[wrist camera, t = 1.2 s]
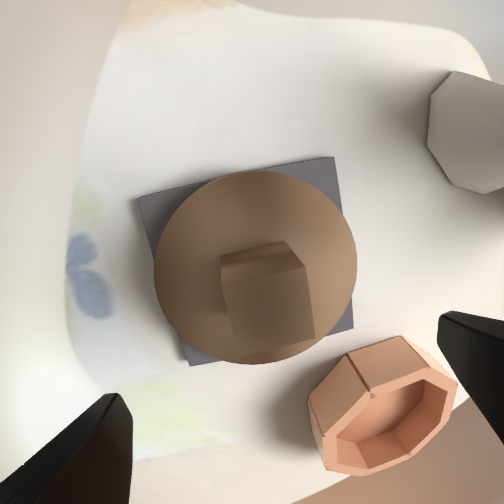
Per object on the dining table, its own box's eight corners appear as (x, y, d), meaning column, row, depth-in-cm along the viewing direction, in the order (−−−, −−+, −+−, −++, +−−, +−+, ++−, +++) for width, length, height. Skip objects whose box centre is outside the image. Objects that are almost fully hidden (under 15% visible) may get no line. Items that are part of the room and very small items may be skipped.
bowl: (314, 453, 20) (326, 488, 17) (302, 365, 18) (318, 404, 14) (421, 415, 21) (441, 443, 17) (434, 322, 18) (465, 349, 15)
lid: (188, 368, 16) (182, 427, 12) (135, 197, 14) (100, 213, 9) (355, 329, 17) (391, 377, 12) (335, 154, 14) (381, 154, 10)
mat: (190, 360, 17) (189, 366, 16) (140, 197, 14) (137, 198, 14) (349, 323, 17) (353, 328, 17) (329, 156, 15) (333, 156, 14)
